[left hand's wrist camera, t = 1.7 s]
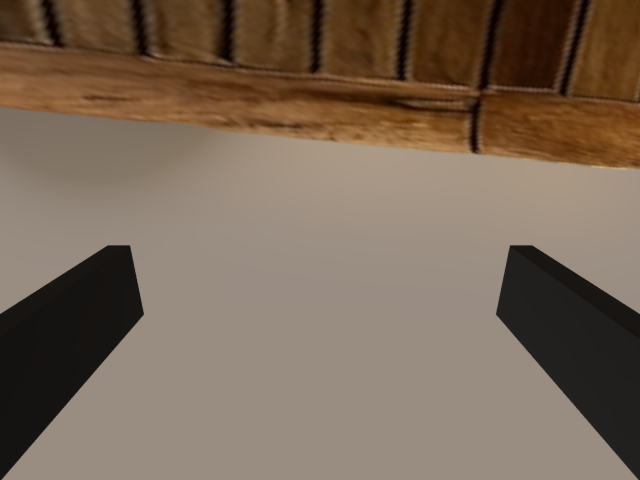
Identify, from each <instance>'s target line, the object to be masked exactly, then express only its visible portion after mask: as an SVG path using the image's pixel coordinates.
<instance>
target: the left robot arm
mask: <svg viewBox="0 0 640 480" xmlns="http://www.w3.org/2000/svg"><path fill="white" fill-rule="evenodd" d="M143 315H144V312H143V307H142V302H141V297H140V292H139V287H138V283H137V278H136V273H135V268H134V263H133V258H132V253H131V248H130V246H129V245H108V246H106V247H105V248H103V249H101V250H100V251H98V252H97V253H95V254H94V255H92V256H90V257H89V258H87V259H86V260H84V261H83V262H81V263H80V264H78V265H76V266H75V267H73V268H72V269H70V270H69V271H67V272H65V273H64V274H62V275H61V276H59V277H58V278H56V279H54V280H53V281H51V282H50V283H48V284H47V285H45V286H43V287H42V288H40V289H39V290H37V291H36V292H34V293H33V294H31V295H29V296H28V297H26V298H25V299H23V300H21V301H20V302H18V303H17V304H15V305H14V306H12V307H11V308H9V309H7V310H6V311H4V312H3V313H1V314H0V480H2V479H3V477H4V476H5V475H6V474H7V473H8V472H9V470H10V469H11V468H12V467H13V466H14V465H15V463H16V462H17V461H18V460H19V459H20V458H21V456H22V455H23V454H24V453H25V452H26V451H27V449H28V448H29V447H30V446H31V445H32V444H33V443H34V441H35V440H36V439H37V438H38V437H39V436H40V434H41V433H42V432H43V431H44V430H45V429H46V427H47V426H48V425H49V424H50V423H51V422H52V421H53V419H54V418H55V417H56V416H57V415H58V414H59V412H60V411H61V410H62V409H63V408H64V407H65V405H66V404H67V403H68V402H69V401H70V400H71V398H72V397H73V396H74V395H75V394H76V393H77V392H78V390H79V389H80V388H81V387H82V386H83V384H84V383H85V382H86V381H87V380H88V379H89V378H90V376H91V375H92V374H93V373H94V372H95V371H96V369H97V368H98V367H99V366H100V365H101V364H102V362H103V361H104V360H105V359H106V358H107V357H108V356H109V354H110V353H111V352H112V351H113V350H114V349H115V347H116V346H117V345H118V344H119V343H120V342H121V340H122V339H123V338H124V337H125V336H126V335H127V333H128V332H129V331H130V330H131V329H132V328H133V327H134V325H135V324H136V323H137V322H138V321H139V320H140V318H141V317H142V316H143ZM496 315H497V316H498V317H499V318H500V320H501V321H502V322H503V323H504V324H505V325H506V327H507V328H508V329H509V330H510V331H511V332H512V333H513V335H514V336H515V337H516V338H517V339H518V340H519V342H520V343H521V344H522V345H523V346H524V347H525V349H526V350H527V351H528V352H529V353H530V354H531V355H532V357H533V358H534V359H535V360H536V361H537V362H538V364H539V365H540V366H541V367H542V368H543V369H544V371H545V372H546V373H547V374H548V375H549V376H550V378H551V379H552V380H553V381H554V382H555V383H556V384H557V386H558V387H559V388H560V389H561V390H562V391H563V393H564V394H565V395H566V396H567V397H568V398H569V400H570V401H571V402H572V403H573V404H574V405H575V407H576V408H577V409H578V410H579V411H580V412H581V414H582V415H583V416H584V417H585V418H586V419H587V420H588V422H589V423H590V424H591V425H592V426H593V427H594V429H595V430H596V431H597V432H598V433H599V434H600V436H601V437H602V438H603V439H604V440H605V441H606V443H607V444H608V445H609V446H610V447H611V448H612V450H613V451H614V452H615V453H616V454H617V455H618V456H619V458H620V459H621V460H622V461H623V462H624V463H625V465H626V466H627V467H628V468H629V469H630V470H631V472H632V473H633V474H634V475H635V476H636V477H637V479H638V480H640V314H639V313H637V312H636V311H634V310H633V309H631V308H629V307H628V306H626V305H625V304H623V303H622V302H620V301H619V300H617V299H615V298H614V297H612V296H611V295H609V294H607V293H606V292H604V291H603V290H601V289H600V288H598V287H597V286H595V285H593V284H592V283H590V282H589V281H587V280H586V279H584V278H582V277H581V276H579V275H578V274H576V273H575V272H573V271H571V270H570V269H568V268H567V267H565V266H564V265H562V264H560V263H559V262H557V261H556V260H554V259H553V258H551V257H549V256H548V255H546V254H545V253H543V252H542V251H540V250H539V249H537V248H535V247H534V246H532V245H511V246H510V248H509V253H508V258H507V263H506V268H505V273H504V278H503V283H502V287H501V292H500V297H499V302H498V307H497V312H496Z"/></svg>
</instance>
